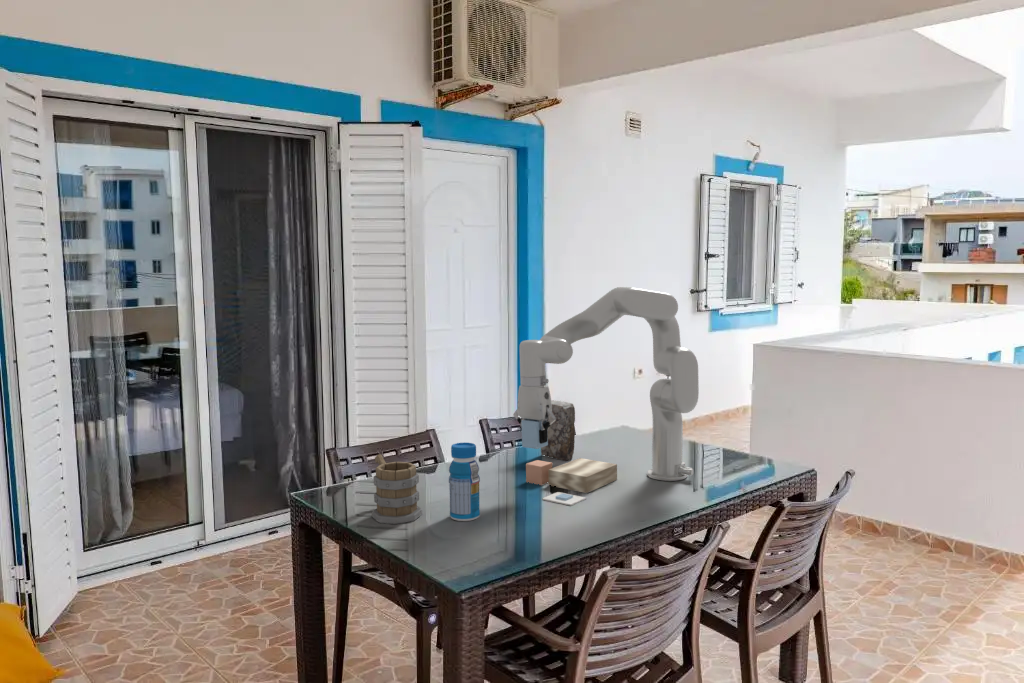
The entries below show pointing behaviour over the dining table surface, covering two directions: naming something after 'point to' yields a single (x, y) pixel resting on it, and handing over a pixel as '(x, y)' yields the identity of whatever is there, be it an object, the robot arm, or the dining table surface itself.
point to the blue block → (531, 434)
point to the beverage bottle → (464, 483)
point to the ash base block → (582, 475)
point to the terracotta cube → (538, 472)
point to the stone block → (561, 432)
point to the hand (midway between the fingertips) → (535, 440)
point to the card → (564, 498)
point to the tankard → (396, 492)
